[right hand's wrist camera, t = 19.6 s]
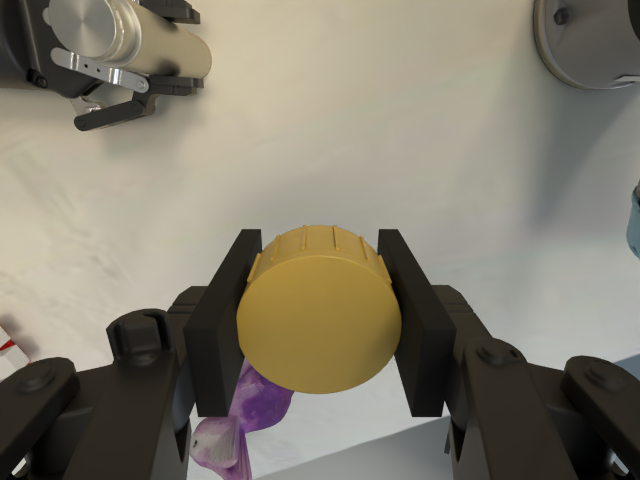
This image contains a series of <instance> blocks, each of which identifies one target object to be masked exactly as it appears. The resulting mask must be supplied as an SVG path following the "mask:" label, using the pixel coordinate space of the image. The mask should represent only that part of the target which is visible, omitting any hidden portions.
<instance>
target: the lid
mask: <svg viewBox="0 0 640 480" xmlns="http://www.w3.org/2000/svg"><path fill="white" fill-rule="evenodd" d="M247 281H248V282H247V285H246V287H245V290H244V293H243V295H242V298H241V300H240V303H239V306H238V309H237V314H236V318H237V328H238V338H239V345H240V348H241V350H242V352H243V354H244V356H245V357H246V359H247V360H248V362H249V363H250V364H251V365H252V366H253V368H254V369H255V370H256V371H258V372H259V373H260V374H261V375H262V376H263V377H265V378H266V379H268V380H269V381H271V382H273V383H275V384H277V385H279V386H281V387H284V388H286V389H289V390H293V391H297V392H302V393H309V394H328V393H335V392H340V391H344V390H348V389H351V388H353V387H356V386H358V385H360V384H362V383H364V382H366V381H368V380H369V379H371V378H372V377H374V376H375V375H376V374H377V373H379V372H380V371H381V370H382V369H383V368H384V367H385V366H386V365H387V363H388V362H389V361H390V359H391V358H392V356H393V355H394V353H395V351H396V349H397V346H398V344H399V341H400V336H401V331H402V317H401V311H400V308H399V304H398V301H397V299H396V296H395V294H394V291H393V289H392V286H391V283H392V281H391V279H390V276H389V274H388V271H387V269H386V266H385V264H384V261H383V259H382V257H381V255H379V256H378V255H377V253H376V252H375V251H374V249H373V248H372V247H371V246H370V245H369V244H368V243H367V242H365V241H364V238H363V237H362V236H360V237H358V236H357V235H355V234H353V233H351V232H349V231H347V230H344V229H341V228H337V226H336V225H333V227H332V226H323V225H315V226H307V225H303V227H300V228H297V229H294V230H291V231H289V232H286V233H284V234H282V235H281V236H280V235H277V236H276V239H275V240H273V241H272V242H271V243H270V244H268V246H267V247H266V248H265V249H264V250H263V251H262V252H261V254H260V253H258V254H257V256H256V258H255V261H254V264H253V266H252V269H251V271H250V274H249V276H248V279H247Z"/></svg>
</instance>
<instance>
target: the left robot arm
mask: <svg viewBox="0 0 640 480" xmlns="http://www.w3.org/2000/svg"><path fill="white" fill-rule="evenodd" d="M131 1H133V2H135V3H137V4H139V5H140V6H142V7H144V8H146V9H148V10H150V11H152V12H153V13H155V14H157V15H159V16H161V17H163V18H165V19H166V20H168V21H170V22H173V23H186V24H200V13H198V12H197V11H196V10H194V9H192V6H191V5H190V4H189V3H188V2H186V1H185V0H131ZM49 2H50V0H0V87H4V88H18V89H33V90H47V91H53V92H56V93H58V94H60V95H61V96H63V97H65V98H69V99H70V100H71V102H72V104H73V106H74V108H75V110H76V112H77V114H78V116H77V117H76V118H75V119H74V124H75V126H76V128H77V129H79V130H80V131H89V130H96V129H102V128H106V127H109V126H113V125H116V124H120V123H123V122H127V121H130V120H134V119H137V118H141V117H145V116H148V115H151V114H153V113H154V112H155V105H154V103H155V99H156V97H157V96H158V95H160V94H165V95H180V96H193V95H195V94H197V88H204V86H203V79H199V78H189V77H175V76H159V75H149V76H146V75H144V74H141V73H138V72H132V71H126V70H119V69H113V68H107V67H103V66H101V65H98V64H96V63H95V62H93V61H92V60H90V59H89V58H85V57H81V56H78V55H76V54H74V53H73V52H71V51H69V50H68V49H67V48H66V47H65V46H64V45H63V44H62V43H61V42H60V41H59V39H58V38H57V37H56V35H55V33H54V31H53V29H52V27H51V24H50V20H49V12H48V9H49ZM105 81H106V82H109V83H112V84H116V85H120V86H123V87H126V88H128V89H131V90H134V93H133V98H132V101H128V102H125V103H122V104H118V105H115V106H111V107H108V108H106V107H105V105H104V104H102V103H100V102H92V101H90V100H89V99H88V98H87V96H88V95H89V94H90V93H92V92H93V91H94V90H95V89H97V88H98V87H99V86H100V85H102V84H103V83H104V82H105Z"/></svg>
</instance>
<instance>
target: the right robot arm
mask: <svg viewBox="0 0 640 480" xmlns="http://www.w3.org/2000/svg"><path fill="white" fill-rule="evenodd" d="M534 33H535V39H536V44H537V47H538V51H539V53H540V55H541V58H542V59H543V61H544V63H545V65H546V66H547V67H548V69H549V70H550V71H551V72H552V73H553V74H554V75H555V76H556V77H557V78H558V79H560V80H561V81H563V82H564V83H567V84H569V85H571V86H574V87H577V88H581V89H590V90H596V89H615V88H621V87H625V86H628V85H632V84H635V83H637V82H640V0H536V3H535V10H534ZM632 203H633V205H632V210H631V215H630V219H629V223H628V227H627V234H626V235H627V242H628V245H629V247H630V249H631V250H632V252H633V253H634V254H635V255H636V256H637V257H638V258H639V260H640V180H639V183H638V186H636V187H635V189H634V191H633V194H632ZM261 252H262V239H261V229H242V230H241V232H240V234H239V235H238V237H237V239H236V240H235V242H234V244H233V245H232V247H231V249H230V250H229V252H228V254H227V255H226V257H225V259H224V260H223V262H222V264H221V265H220V267H219V269H218V270H217V272H216V274H215V275H214V277H213V279H212V281H211V282H210V284H209V286H191V287H190V288H188V289H187V290H185V291H184V292H182V293H181V294H179V295H178V297H177V298H176V300H175V301H174V302H173V304H172V306H171V307H170V308H169V309H168V311H167V312H166V311H164V310H160V309H142V310H137V311H133V312H130V313H128V314H125V315H123V316H121V317H119V318H118V319H116V320H114V321H113V322H112V323H111V324H110V325H109V326H108V327H107V328H106V332H107V335H108V339H109V343H110V346H111V350H112V353H113V357H114V361H113V363H112V364H111V365H107V366H104V367H99V368H94V369H90V370H85V371H80V372H76V369H75V366H74V363H73V362H72V361H70V360H69V359H68V358H61V357H55V358H47V359H43V360H39V361H36V362H33V363H30V364H29V365H27V366H25V367H23V368H20V369H18V370H17V371H15V372H14V373H13V374H11V375H10V376H8V377H7V378H6V379H5V380H3V381H2V382H1V383H0V480H186V479H187V469H188V460H189V451H190V442H191V432H192V431H191V424H190V418H189V416H190V413H191V411H192V408H193V406H194V404H195V401H196V407H197V413H198V417H228V414H229V411H230V407H231V404H232V400H233V397H234V393H235V390H236V386H237V383H238V380H239V376H240V373H241V369H242V366H243V362H244V359H245V356H244V354H243V352H242V350H241V348H240V345H239V338H238V328H237V318H236V314H237V309H238V306H239V303H240V300H241V298H242V295H243V293H244V290H245V287H246V285H247V282H248V281H247V279H248V276H249V274H250V271H251V269H252V266H253V264H254V261H255V258H256V256H257V254H258V253H260V254H261ZM377 255H378V256H379V255H381V257H382V259H383V261H384V264H385V266H386V269H387V271H388V274H389V276H390V279H391V281H392V283H391V286H392V289H393V291H394V294H395V296H396V299H397V301H398V304H399V308H400V311H401V317H402V331H401V336H400V341H399V344H398V346H397V349H396V351H395V353H394V356H395V360H396V363H397V367H398V370H399V373H400V377H401V380H402V384H403V387H404V391H405V394H406V398H407V401H408V405H409V408H410V411H411V415H412V417H442V411H443V406H444V400H445V402H446V405H447V407H448V410H449V412H450V414H451V418H450V424H449V429H448V434H447V439H446V445H445V451H444V453H447V454H449V451H450V450H451V459H452V468H453V478H454V480H640V381H639V380H638V379H637V378H635V377H634V376H633V375H631V374H630V373H629V372H627V371H626V370H624V369H623V368H621V367H619V366H617V365H615V364H613V363H611V362H609V361H606V360H604V359H603V360H602V359H600V358H596V357H590V356H575V357H571V358H570V359H569V360H568V361H567V362H566V365H565V368H564V371H562V370H558V369H553V368H548V367H543V366H539V365H535V364H531V363H527V360H526V359H525V357H524V356H523V354H522V353H521V352H520V351H519V350H518V349H516V348H515V347H514V346H512V345H511V344H509V343H507V342H504V341H502V340H500V339H496V338H493V337H492V336H491V334H490V333H489V332H488V330H487V329H486V328H485V326H484V325H483V323H482V322H481V321H480V319H479V318H478V316H477V315H476V314H475V313H473V310H472V308H471V307H470V305H468V303H467V301H466V300H465V298H464V297H463V296H462V294H461V293H460V292H458V291H457V290H455V289H454V288H452V287H451V286H449V285H431V284H430V283H429V281H428V279H427V278H426V276H425V274H424V273H423V271H422V269H421V267H420V266H419V264H418V262H417V261H416V259H415V257H414V256H413V254H412V252H411V251H410V249H409V247H408V246H407V244H406V242H405V241H404V239H403V237H402V236H401V234H400V232H399V231H398V229H379V236H378V251H377ZM616 455H617V457H618V458H619V459H620V460H621V461H622V463H623V464H624V465H625V466H626V467H627V469H628V470H629V472H628V474H626V473H624V472H623V471H622V470H621V469H620V468H619V466H618V465H617V464H616V463H615V461H614V460H615V457H616ZM23 458H25V460H26V463H25V465H24V466H23V467H22V468H21V469H20V470H19V471H18V472H17V473H16V474H15V475H12V473H11V472H12V471H13V470H14V469H15V467H16V466H17V465H18V464H19V463H20V461H21V460H22V459H23Z"/></svg>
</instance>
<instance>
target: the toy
mask: <svg viewBox="0 0 640 480" xmlns="http://www.w3.org/2000/svg"><path fill="white" fill-rule="evenodd" d="M10 339H11V338H10V337H9V336H8V334H7V333H6V332H5V331H4V330H3V329H2V328H1V326H0V380H2V379H4V378H7V377H8V376H10V375H11V374H13V373H14V372H15V371H17V370H18V369H20V368H23V367H25V366H26V365H28V364H29V363H30V360H29V359H28V357H27V356H26V355H25V354H24V353H23V352H22V351H21V349H20V348H19V347H18V346H17V345H14V344H13V343H12V342H11V340H10Z"/></svg>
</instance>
